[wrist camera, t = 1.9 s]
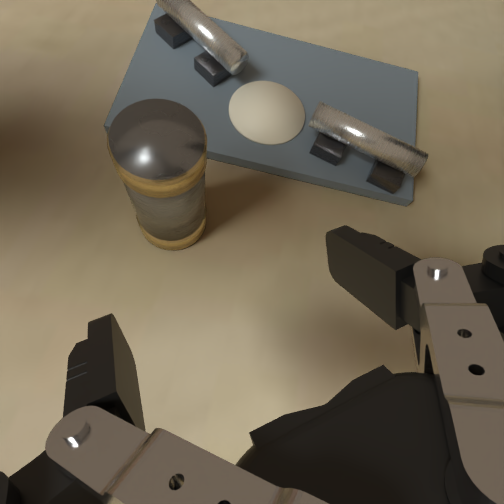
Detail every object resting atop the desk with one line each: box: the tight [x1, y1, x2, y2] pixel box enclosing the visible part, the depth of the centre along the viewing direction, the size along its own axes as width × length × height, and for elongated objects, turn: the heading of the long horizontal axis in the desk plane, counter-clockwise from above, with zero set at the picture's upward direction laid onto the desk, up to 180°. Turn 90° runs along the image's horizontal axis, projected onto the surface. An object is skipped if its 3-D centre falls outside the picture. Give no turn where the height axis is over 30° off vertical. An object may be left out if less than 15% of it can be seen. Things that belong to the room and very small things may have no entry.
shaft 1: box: [154, 0, 249, 87], centre depth 30 cm, size 9×4×4 cm, turn 44°
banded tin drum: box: [107, 99, 207, 250], centre depth 22 cm, size 5×5×10 cm
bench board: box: [104, 3, 418, 206], centre depth 31 cm, size 25×14×1 cm, turn 79°
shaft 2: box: [308, 101, 428, 194], centre depth 29 cm, size 9×4×4 cm, turn 64°
